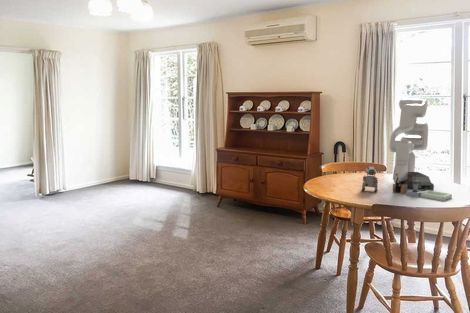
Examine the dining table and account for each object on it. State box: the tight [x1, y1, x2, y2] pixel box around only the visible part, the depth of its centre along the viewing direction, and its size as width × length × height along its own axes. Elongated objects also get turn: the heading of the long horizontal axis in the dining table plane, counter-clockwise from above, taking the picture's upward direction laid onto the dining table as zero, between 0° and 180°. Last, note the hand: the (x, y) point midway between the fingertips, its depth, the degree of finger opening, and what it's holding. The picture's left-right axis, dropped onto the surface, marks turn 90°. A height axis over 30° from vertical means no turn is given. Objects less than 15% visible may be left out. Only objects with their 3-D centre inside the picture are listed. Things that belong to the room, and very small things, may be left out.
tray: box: [418, 190, 453, 202], centre depth 247 cm, size 14×11×2 cm
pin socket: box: [405, 188, 423, 198], centre depth 252 cm, size 7×7×2 cm
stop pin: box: [412, 180, 419, 192], centre depth 252 cm, size 4×4×9 cm
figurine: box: [361, 165, 379, 193], centre depth 263 cm, size 9×12×15 cm
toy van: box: [405, 171, 435, 191], centre depth 268 cm, size 11×25×10 cm, turn 179°
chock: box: [392, 183, 408, 195], centre depth 260 cm, size 7×4×5 cm, turn 41°
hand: (399, 191), depth 260 cm, fingers closed on chock, 4 cm apart
